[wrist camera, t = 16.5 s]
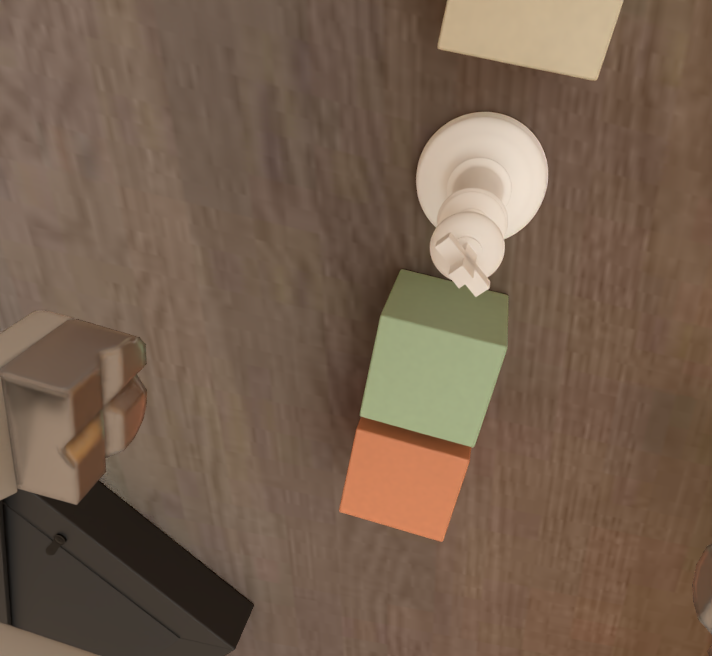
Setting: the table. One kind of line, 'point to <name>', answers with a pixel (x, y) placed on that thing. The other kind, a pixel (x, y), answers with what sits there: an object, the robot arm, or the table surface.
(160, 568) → the picture frame
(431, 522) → the block
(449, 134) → the chess piece
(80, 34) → the table surface
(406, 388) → the block
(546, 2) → the block
